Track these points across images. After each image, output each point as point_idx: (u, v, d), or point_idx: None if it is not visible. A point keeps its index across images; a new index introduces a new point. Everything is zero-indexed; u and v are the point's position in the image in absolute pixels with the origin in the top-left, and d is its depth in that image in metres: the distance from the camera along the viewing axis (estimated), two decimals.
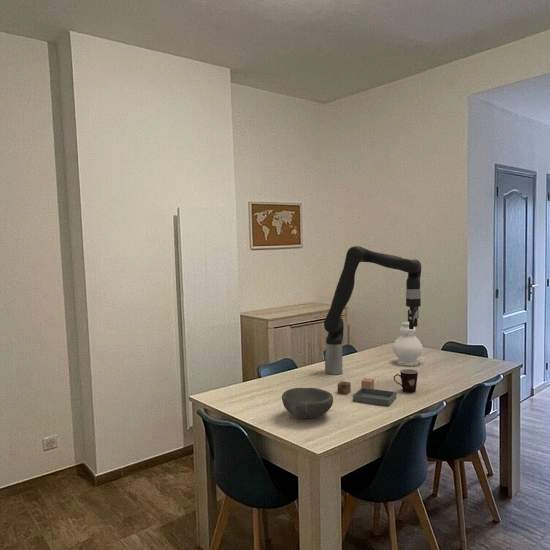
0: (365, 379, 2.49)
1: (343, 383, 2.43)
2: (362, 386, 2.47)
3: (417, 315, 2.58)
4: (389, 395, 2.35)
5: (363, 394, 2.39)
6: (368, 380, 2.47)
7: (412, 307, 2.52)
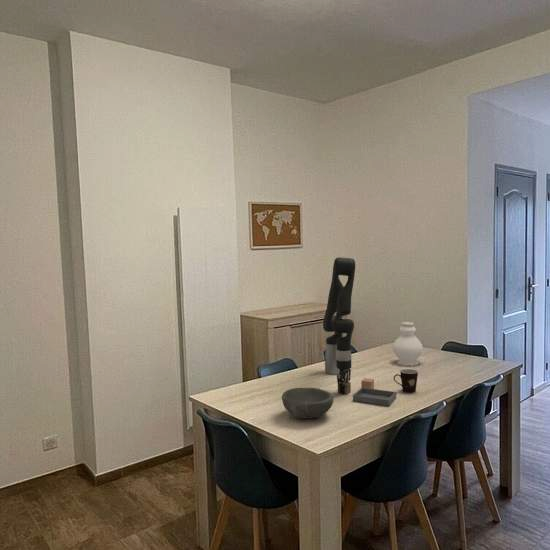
0: (365, 379, 2.49)
1: None
2: (362, 386, 2.47)
3: (348, 378, 2.44)
4: (389, 395, 2.35)
5: (363, 394, 2.39)
6: (368, 380, 2.47)
7: (342, 370, 2.39)
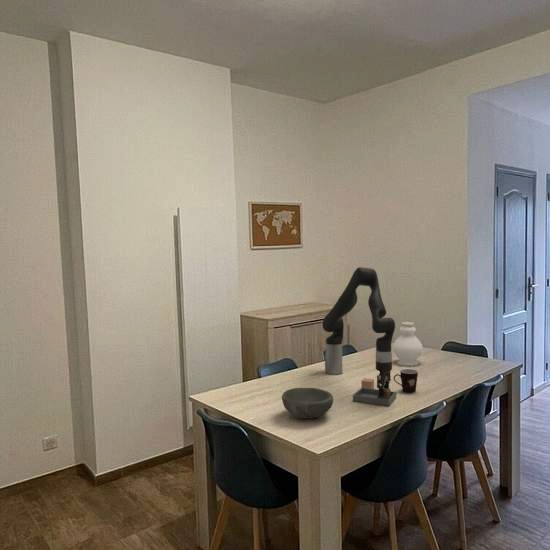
0: (365, 379, 2.49)
1: None
2: (362, 386, 2.47)
3: (388, 379, 2.31)
4: None
5: (363, 394, 2.39)
6: (368, 380, 2.47)
7: (382, 372, 2.25)
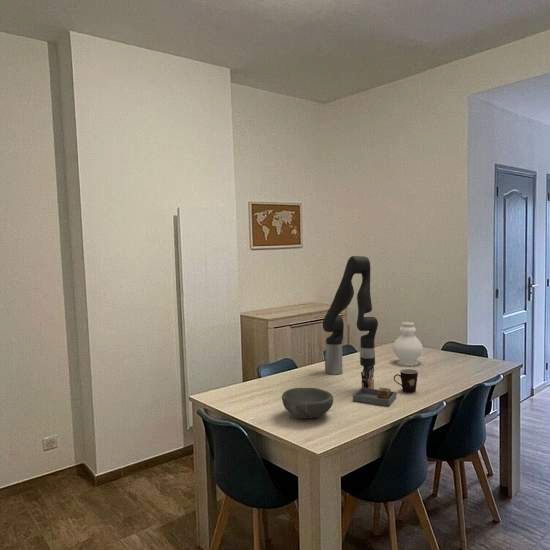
0: None
1: (383, 390, 2.29)
2: (362, 386, 2.47)
3: (371, 374, 2.48)
4: None
5: (363, 394, 2.39)
6: None
7: (366, 367, 2.44)
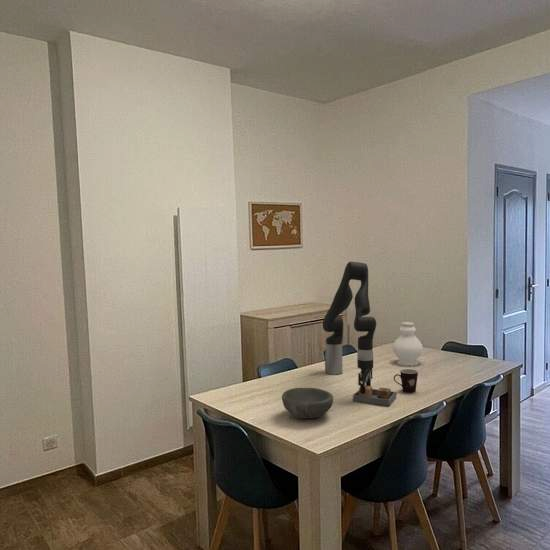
0: None
1: (383, 390, 2.29)
2: (360, 394, 2.33)
3: (370, 377, 2.35)
4: None
5: None
6: (366, 387, 2.33)
7: (363, 369, 2.30)
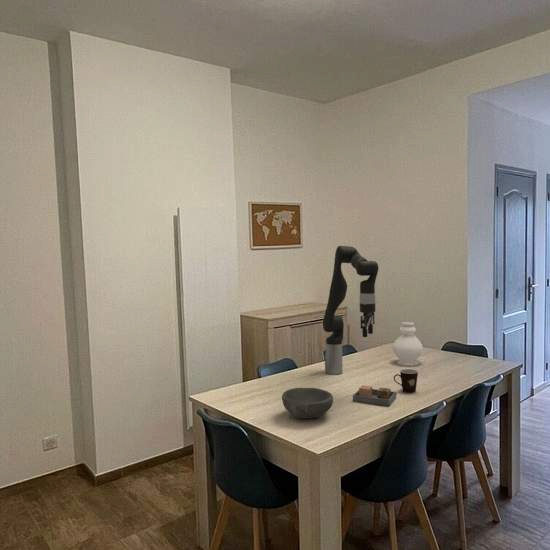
0: (363, 386, 2.35)
1: (383, 390, 2.29)
2: (360, 394, 2.33)
3: (372, 321, 2.37)
4: None
5: None
6: (366, 387, 2.33)
7: (366, 313, 2.31)
